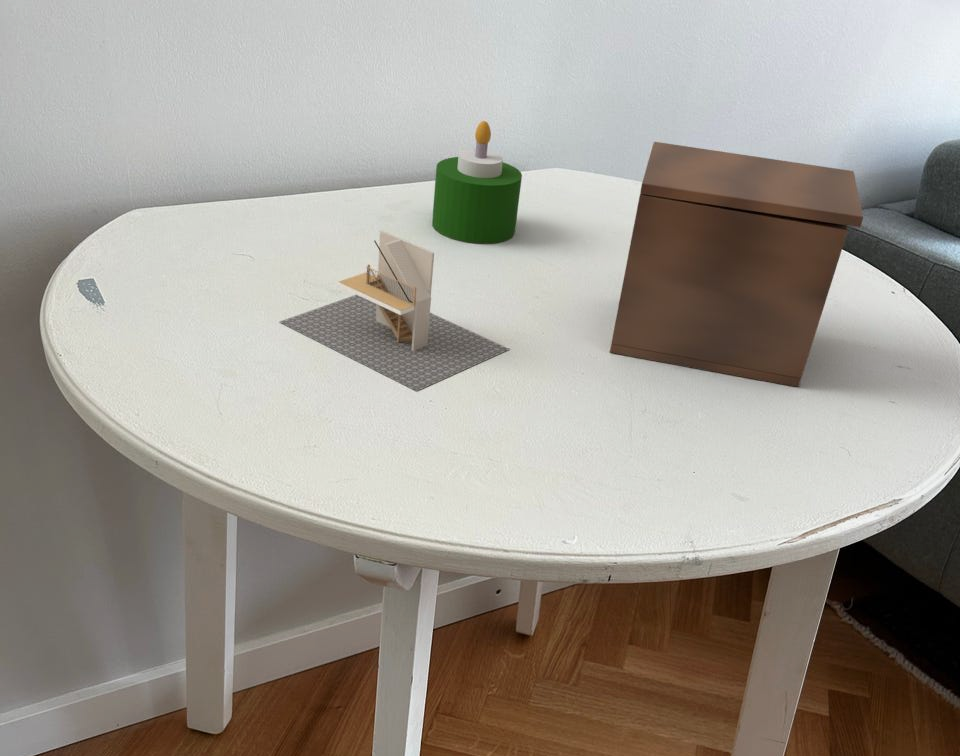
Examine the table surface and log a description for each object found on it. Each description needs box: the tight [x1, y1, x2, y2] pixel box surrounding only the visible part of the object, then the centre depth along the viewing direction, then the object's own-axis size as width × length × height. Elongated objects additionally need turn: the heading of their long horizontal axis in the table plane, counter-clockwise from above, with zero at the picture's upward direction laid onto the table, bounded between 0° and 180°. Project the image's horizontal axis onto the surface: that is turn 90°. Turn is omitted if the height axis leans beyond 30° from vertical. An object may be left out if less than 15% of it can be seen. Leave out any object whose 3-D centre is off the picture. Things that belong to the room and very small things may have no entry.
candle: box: [431, 120, 523, 244], centre depth 107 cm, size 8×8×10 cm
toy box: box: [609, 193, 849, 388], centre depth 91 cm, size 16×12×13 cm
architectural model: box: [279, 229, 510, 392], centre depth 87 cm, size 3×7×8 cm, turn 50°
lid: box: [639, 141, 864, 228], centre depth 87 cm, size 16×12×1 cm
